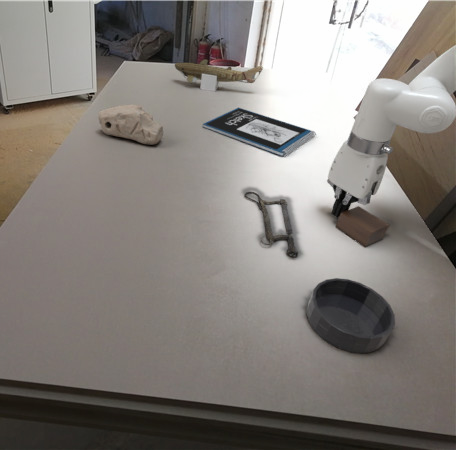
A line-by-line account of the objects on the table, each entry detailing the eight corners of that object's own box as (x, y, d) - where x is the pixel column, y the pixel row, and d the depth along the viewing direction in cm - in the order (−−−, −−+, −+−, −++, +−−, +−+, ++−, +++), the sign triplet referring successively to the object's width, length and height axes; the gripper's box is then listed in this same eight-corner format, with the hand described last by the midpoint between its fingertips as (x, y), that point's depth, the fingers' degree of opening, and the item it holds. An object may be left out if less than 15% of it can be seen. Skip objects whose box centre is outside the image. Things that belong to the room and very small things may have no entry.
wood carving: (255, 99, 157) (261, 69, 150) (170, 85, 165) (172, 57, 159) (259, 92, 163) (264, 63, 157) (176, 79, 172) (178, 51, 165)
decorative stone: (95, 135, 125) (94, 104, 119) (107, 126, 131) (106, 96, 125) (155, 149, 119) (157, 117, 113) (165, 139, 125) (167, 108, 119)
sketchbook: (237, 111, 147) (238, 105, 145) (315, 137, 131) (317, 131, 130) (202, 127, 133) (203, 121, 132) (284, 158, 118) (286, 152, 117)
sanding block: (352, 220, 95) (358, 206, 92) (382, 239, 89) (389, 224, 87) (335, 227, 92) (340, 212, 90) (364, 247, 87) (371, 232, 84)
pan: (339, 284, 77) (346, 269, 75) (401, 333, 69) (411, 318, 66) (290, 309, 72) (296, 294, 69) (351, 366, 63) (360, 350, 61)
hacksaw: (298, 260, 82) (299, 254, 82) (247, 254, 83) (248, 248, 83) (285, 196, 102) (286, 191, 101) (243, 192, 102) (245, 187, 102)
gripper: (411, 154, 80) (375, 227, 91) (349, 125, 90) (324, 194, 101) (388, 162, 76) (354, 237, 88) (326, 131, 86) (302, 202, 98)
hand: (338, 214), depth 94 cm, fingers closed
